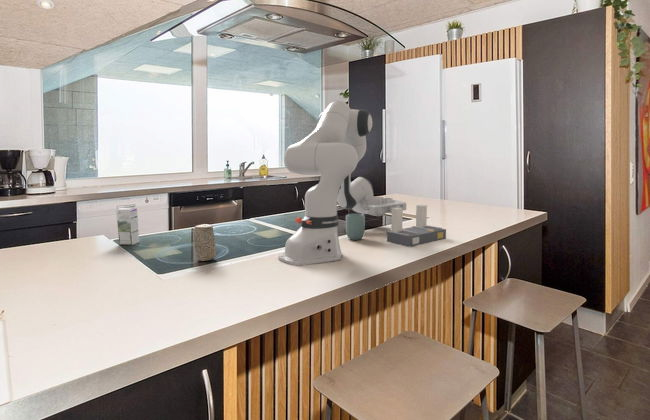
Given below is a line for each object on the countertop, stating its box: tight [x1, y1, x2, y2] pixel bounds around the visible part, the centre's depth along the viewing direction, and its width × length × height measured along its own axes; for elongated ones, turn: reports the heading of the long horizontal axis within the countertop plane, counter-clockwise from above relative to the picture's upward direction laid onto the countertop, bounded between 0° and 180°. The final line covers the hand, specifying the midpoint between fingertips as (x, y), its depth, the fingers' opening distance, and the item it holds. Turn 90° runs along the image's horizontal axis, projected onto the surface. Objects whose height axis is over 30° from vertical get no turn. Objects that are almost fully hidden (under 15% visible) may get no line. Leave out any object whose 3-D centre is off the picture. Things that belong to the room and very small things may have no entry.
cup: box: [345, 213, 366, 241], centre depth 175 cm, size 8×8×10 cm
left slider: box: [390, 208, 404, 232], centre depth 169 cm, size 3×3×9 cm
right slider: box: [415, 204, 428, 227], centre depth 178 cm, size 3×3×9 cm
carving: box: [193, 223, 217, 262], centre depth 144 cm, size 6×8×12 cm
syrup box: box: [115, 206, 140, 246], centre depth 170 cm, size 6×6×14 cm
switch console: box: [386, 224, 447, 248], centre depth 172 cm, size 22×12×4 cm, turn 128°
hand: (400, 209), depth 187 cm, fingers closed
